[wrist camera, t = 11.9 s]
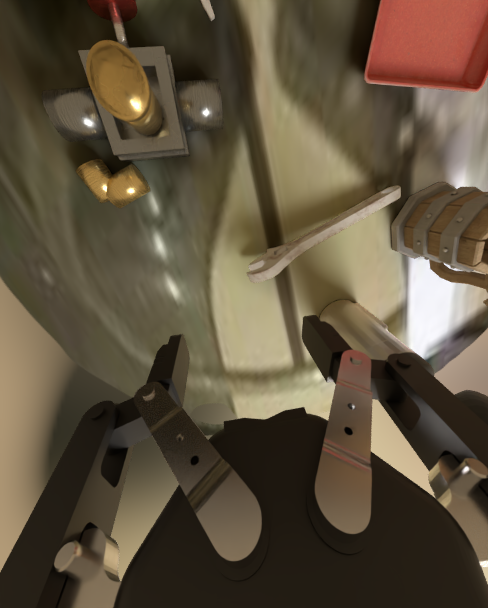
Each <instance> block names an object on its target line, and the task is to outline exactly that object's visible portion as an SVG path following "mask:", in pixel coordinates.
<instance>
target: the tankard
mask: <svg viewBox="0 0 488 608" xmlns="http://www.w3.org/2000/svg"><path fill="white" fill-rule="evenodd" d="M391 233H392V250H395V251H397V252H399V253H402V254H404V255H406V256H409V257H411V258H414V259H415V258H417V257H420V256H423V257H425V259H426V260H428V259H429V261H430V269H431V270H432V271H434V272H435V273H436V274H437V275H438V276H439V277H440V278H443V279H445V280H448V281H450V282H454V283H464V284H470V285H474V286H477V287H481V288H484V289H486V290H487V292H488V192H482V191H481V190H479V189H478V188H476V187H460V188H458V189H456V188H454V187H452V186H451V185H449V184H448V183H446V182H438V183H436V184H434V185H432V186H430V187H428V188H426V189H424V190H422V191H420V192H418V193H416V194H414V195H412V196H410V197H409V199H408V200H407V202H406V203H405V205H404V206H403V208H402V209H401V211H400V212H399V214H398V216H397V217H396V219H395V220H394V222H393V223H392V225H391ZM444 263H445V264H448V265H450V267H451V268H453V269H454V268H457V269H460V270H463V271H454V270H452V269H449V268H448V267H447V266H445V265H444ZM473 270H476V271H479V272H483V273H486V275H484V274H480V273H476V272H471V271H473ZM483 303H485V304H486V305H487V306H488V299H487V300H485V301H483Z"/></svg>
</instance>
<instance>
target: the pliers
mask: <svg viewBox="0 0 488 608" xmlns="http://www.w3.org/2000/svg"><path fill="white" fill-rule="evenodd" d="M200 1H201V3H202V5H203V7H204V9H205V11H206V13H207V15H208V17H209V18H210V20H211V21H212V20H213V19H214V18H215V16H214V13H213V10H212V7H211V4H210V1H209V0H200Z"/></svg>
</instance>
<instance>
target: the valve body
mask: <svg viewBox="0 0 488 608" xmlns="http://www.w3.org/2000/svg"><path fill="white" fill-rule="evenodd" d="M87 2H88V4H89V6H90V8H91V9H92V10H93V11H94V12H95V13H96V14H97V15H99V16H100V17H102V18H104V19H107V20H110V21H112V23H113V27H114V31H115V34H116V38H117V41H118V43H120V44H122V45H123V46H125V47H126V48H127V49H129V50H130V51H131V52H132V53H133V55H134V56H135V57H136V58H137V60H138V61H139V63H140V64H141V66H142V68H143V70H144V72H145V74H146V76H147V78H148V81H149V85H150V88H151V89H152V91H153V93H154V95H155V96H156V98H157V100H158V102H159V104H160V106H161V109H162V116H163V118H162V124H161V127H160V129H159V130H158V131H157V132H156V133H154V134H152V135H145V134H142V133H140V132H138V131H136V130H135V129H134V128H133V127H131V126H130V125H129V124H128V123H126V122H125V121H122V120H120V119H118V118H116V117H114V116H113V115H112V114H111V113H109V112H108V111H107V110H106V109H105V108H103V106H102V105H101V104H100V103H99V102H98V100H97V99H96V97H95V96H94V94H93V92H92V90H91V87H87V88H71V89H56V90H44V91H43V92H42V101H43V104H44V107H45V109H46V112H47V114H48V116H49V118H50V120H51V121H52V123H53V125H54V126H55V128H56V129H57V130H58V132H59V133H60V134H61V135H62V136H63V137H64V138H65V139H66V140H68V141H70V142H73V141H84V140H96V139H109V142H110V145H111V148H112V151H113V153H114V155H116V156H119V159H120V161H123V162H131V161H141V160H152V159H162V158H173V157H183V156H190V154H189V149H188V143H187V138H186V133H185V132H189V131H200V130H212V129H223V111H222V100H221V92H220V85H219V80H218V79H209V80H194V81H179V82H176V80H175V75H174V69H173V64H172V61H171V57H170V55H167V54H166V51H165V48H164V46H157V47H137V48H129V45H128V41H127V37H126V33H125V29H124V25H123V22H126V21H129V20H131V19H133V18H134V17H135V16H136V14H137V6H136V2H135V0H87ZM89 51H90V50H78V52H79V55H80V58H81V61H82V64H83V67H84V70H85V72H86V62H87V57H88V53H89ZM86 75H87V72H86Z"/></svg>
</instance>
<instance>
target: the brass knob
mask: <svg viewBox="0 0 488 608" xmlns="http://www.w3.org/2000/svg"><path fill="white" fill-rule="evenodd" d="M86 72H87V78H88V82H89V85H90V87H91V90H92V92H93V94H94V96H95V97H96V99H97V100H98V102H99V103H100V104H101V105H102V106H103V108H105V109H106V110H107V111H108V112H109V113H111V114H112V115H113V116H114V117H116V118H118V119H120V120H122V121H125V122H126V123H128V124H129V125H130V126H131V127H133V128H134V129H135V130H136V131H138V132H140V133H142V134H145V135H152V134H154V133H156V132H157V131H158V130H159V129H160V127H161V124H162V118H163V116H162V109H161V106H160V104H159V102H158V100H157V98H156V96H155V95H154V93H153V91H152V89H151V88H150V85H149V81H148V78H147V76H146V74H145V72H144V70H143V68H142V66H141V64H140V63H139V61H138V60H137V58H136V57H135V56H134V55H133V53H132V52H131V51H130V50H129V49H127V48H126V47H125V46H123V45H122V44H120V43H118V42H115V41H112V40H103V41H100V42H98V43H96V44H95V45H94V46H93V47H92V48H91V49H90V51H89V53H88V57H87V62H86Z"/></svg>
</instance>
